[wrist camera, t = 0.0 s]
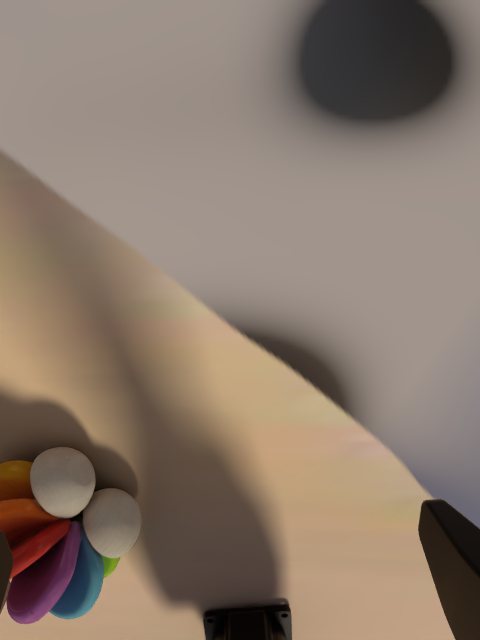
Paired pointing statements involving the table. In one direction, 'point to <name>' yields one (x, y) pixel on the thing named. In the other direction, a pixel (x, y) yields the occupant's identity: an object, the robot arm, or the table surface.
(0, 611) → the tray
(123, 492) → the multicolored petal rattle
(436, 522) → the robot arm
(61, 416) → the table surface
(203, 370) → the table surface
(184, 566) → the table surface
